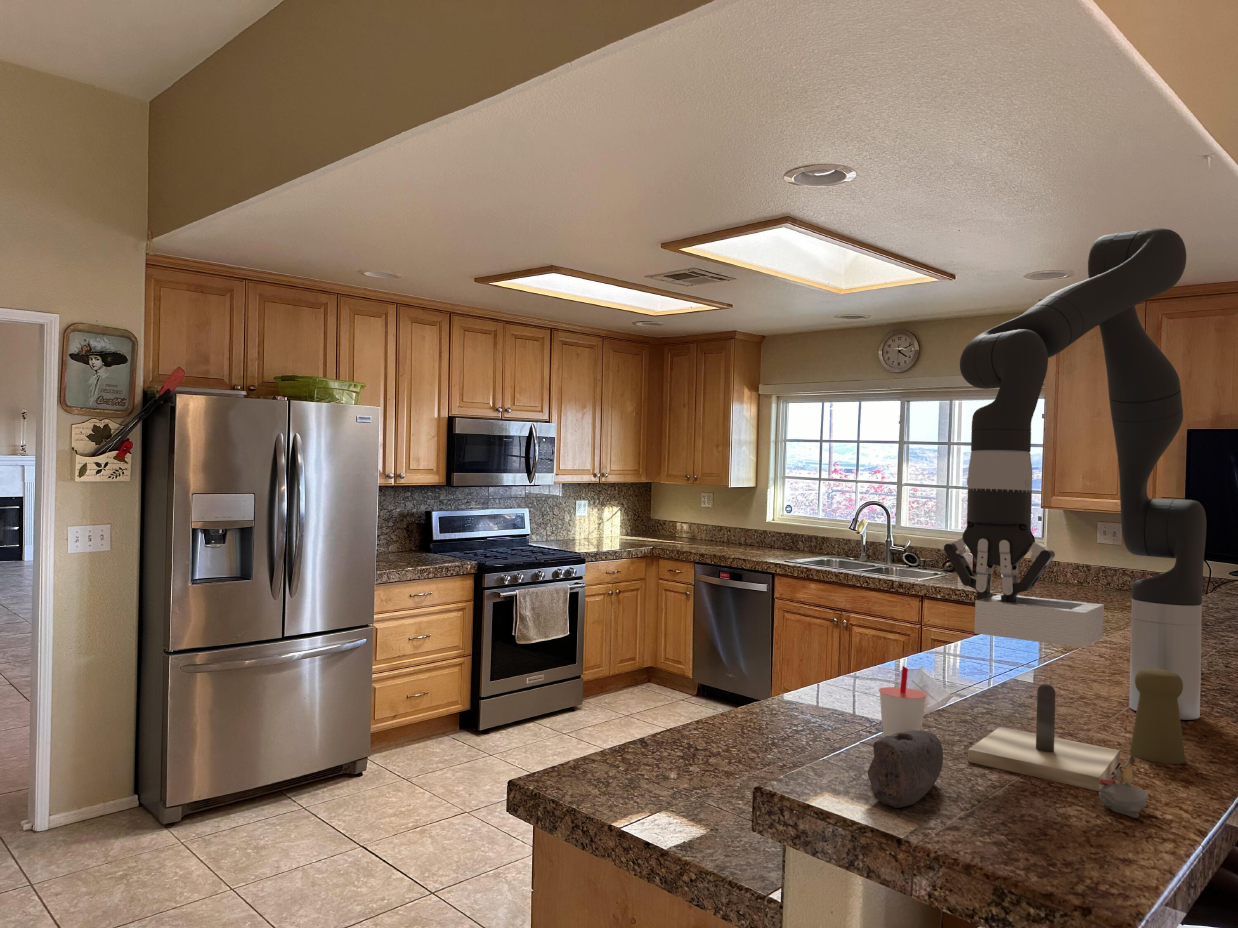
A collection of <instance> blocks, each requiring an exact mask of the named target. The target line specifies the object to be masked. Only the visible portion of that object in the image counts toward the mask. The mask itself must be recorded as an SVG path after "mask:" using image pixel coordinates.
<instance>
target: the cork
mask: <svg viewBox="0 0 1238 928" xmlns="http://www.w3.org/2000/svg"><path fill="white" fill-rule="evenodd" d="M1135 685H1136V688H1137V690H1138V691H1139V693H1140V695H1139V701H1138V707H1137V711H1136V713H1135V719H1134V724H1133V725H1134V726H1133V730H1132V737H1131V743H1130V747H1129V752H1130V755H1133V756H1134V757H1137V758H1140V759H1143V760H1147V761H1151V762H1157V763H1162V764H1173V765H1177V764H1184V763H1186V762H1187V760H1186V754H1185V747H1184V738H1183V731H1182V730H1183V729H1182V724H1181V723H1182V722H1181V719H1180V714H1179V707H1178V699H1177V698H1178V697H1179V696H1180V695H1181V693H1182V690H1183V682H1182V679H1181V678H1180V676H1179V675H1177V674H1176V673H1174V672H1171V671H1168V670H1164V669H1157V668H1147V669H1141V670H1139V671H1138V673H1137V674H1136V677H1135Z"/></svg>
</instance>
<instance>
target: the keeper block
mask: <svg viewBox="0 0 1238 928" xmlns="http://www.w3.org/2000/svg"><path fill="white" fill-rule="evenodd" d="M1036 691H1037V692H1036V729H1035V733H1033V732H1028V731H1023V730H1020V729H1019V730H1018V729H1013V728H1008V727H1004V726H999V727H997V728H996V729H995V730H993V731H992V732H991V733H989V734H988V735H986V736H985V737H983V738H982V739H980V740H979V741H978V742H976V743H975V744H974V745H972V746H971V747H969V748H968V749H967V750H968V753H967V754H968V755H967V762H969V763H972V764H977V765H981V766H986V767H989V768H990V767H991V768H995V769H998V770H1004V771H1007V772H1012V773H1017V774H1021V775H1025V776H1030V777H1034V778H1039V779H1044V780H1048V781H1052V782H1056V783H1061V784H1064V785H1065V784H1066V785H1070V786H1074V787H1078V788H1082V789H1087V790H1092V791H1097V792H1100V789H1099V788H1101V784H1099V781H1100V778H1108V777H1107V776H1106V774H1105V773H1106V772H1107V771H1108V772H1109V774H1111V773H1112V774H1113V773H1114V772H1113V771H1114V770H1115V771H1116V769H1117V767H1118V765H1120V764H1121V763H1120V758H1121V757H1120V755H1121V754H1120V752H1121V750H1119V749H1114V748H1110V747H1105V746H1100V745H1094V744H1090V743H1085V742H1079V741H1073V740H1068V739H1065V738H1064V739H1063V738H1060V737H1059V738H1058V737H1055V727H1056V726H1055V725H1056V722H1055V721H1056V690H1055V688H1054V687H1053V686H1052V685H1051V684H1048V683H1042V684H1040V685H1039V686H1038V688H1037V690H1036ZM1105 770H1107V771H1105ZM1102 771H1103V772H1102ZM1108 772H1107V775H1108V776H1109V774H1108ZM1112 774H1111V775H1112ZM1109 777H1110V776H1109Z"/></svg>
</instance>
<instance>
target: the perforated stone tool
mask: <svg viewBox="0 0 1238 928" xmlns="http://www.w3.org/2000/svg"><path fill="white" fill-rule="evenodd" d="M872 747H873V759H872V760H871V763H870V765H869V767H868V770H867V778H868V780H869V782H870V785H871V789H872V792H873V793H872V795H873V797H874V798H875V799H876V800H878V801H880V802H881V803H882V804H883V805H887V806H889V807H893V808H895V809H898V808H899V809H900V808H905V807H908V806H912V805H915V804H916V803H917V802H918V801H919V800H921V799H923V797H924V796H925V795H927V793H929V791H930V790H931V789H932V788H933V786H934V785H935V783H936V782H937V780H938V778H939V776H940V774H941V772H942V768H943V764H944V763H943V762H944V749H943V745H942V743H941V741H940V739H939V738H938V737H937V736H936V735H935V734H933V733H931V732H928V731H924V730H921V731H919V730H914V731H906V732H900V733H895V734H892V735H890V736H885V737H883V736H882V738H880V739H878V740H876V741H874V742H873V744H872Z"/></svg>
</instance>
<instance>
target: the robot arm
mask: <svg viewBox="0 0 1238 928" xmlns="http://www.w3.org/2000/svg"><path fill="white" fill-rule="evenodd" d="M1186 249H1187V248H1186V245H1185V242H1184V240H1183V238H1182V237H1181V235H1180V234H1179V233H1178V232H1176V231H1175V230H1172V229H1170V228H1169V229H1168V228H1159V227H1157V228H1146V229H1140V230H1132V231H1124V232H1115V233H1110V234H1106V235H1102V236H1100V237H1098V238H1096V240H1095V241H1094V242H1093V244H1092V246H1091V248H1090V250H1089V254H1088V260H1087V274H1088V278H1087V279H1085V280H1082V281H1078V282H1076V283H1073V284H1070V285H1068V286H1065V287H1063V288H1061V289H1059V290H1056V291H1054V292H1053V293H1051V294H1049V295H1047V296H1045V297H1044V298H1043V299H1041V300H1039V301H1038V302H1037V303H1036V304H1034V305H1032V306H1031V307H1030V308H1028V309H1027V310H1026V311H1024V312H1023V313H1022V314H1020V315H1018V316H1017V317H1015V318H1012V319H1010V320H1007V321H1004V322H1002V323H1001V324H999V325H996V326H994V327H992V328H990V329H987V330H985V331H983V332H982V333H979V334H978V335H977V336H975V337H974V338H973V339H971V340H970V341H969V342H968V343H967V344H966V346H965V347H964V349H963V350H962V353H961V355H960V359H959V370H960V373H961V375H962V378H963V379H964V381H966V382H967V383H968V384H969V385H970V386H973V387H975V388H978V389H982V390H990V389H997V388H998V391H997V394H996V396H995V398H994V400H993V401H991V403H989V404H986V405H984V406H981V407H979V408H977V409H976V410H975V411H974V413H973V415H972V419H971V438H970V441H971V445H970V451H971V452H970V457H969V458H970V459H969V462H968V463H969V464H968V470H967V472H968V473H967V474H968V475H967V478H966V485H967V504H966V505H967V507H966V527H965V529H964V531H963V532H962V538H959V539H958V540H955V541H953V542H949V543H945V544H944V546H943V551H944V552H945V555H947V558H948V559H949V562H950V563H951V565H952V567H953V568H954V571H955V572H956V574H957V576H958V579H960V581H961V584H962V585H963V586H965V587H969V588H972V589H974V590H975V592H976V594H977V595H976V596H977V597H976V600H980V599H984V598H989V597H992V596H993V592H992V591H991V588H992V579H993V574H994V569H995V566H998V567H1000V576H1001V585H1002V586H1001V587H1002V588H1001V590H1002V594H1003V595H1001V599H1002V602H1007V603H1016V597H1017V596H1018V595H1019V593H1022V592H1027V591H1030V590H1032V589H1033V588H1034V587H1035V585H1036V583H1037V582H1038V580H1039V579H1040V577H1042V575H1043V574H1044V572H1045V570H1047V568H1048V566H1049V565H1050V564H1051V562H1052V561H1053V559H1054V558H1055V557H1056V553H1055V552H1054V551H1053V550H1052V549H1047V548H1045V547H1043V545H1040V544H1038V543H1037V542H1036V538H1035V536H1034V534H1033V532H1032V529H1031V528H1032V499H1033V495H1032V494H1033V491H1032V490H1033V466H1032V457H1031V456H1032V455H1031V449H1032V448H1031V447H1032V421H1033V418H1034V414H1035V410H1036V409H1037V407H1038V406H1037V405H1038V402H1039V398H1040V395H1041V391H1042V390H1043V385H1044V383H1045V379H1046V375H1047V372H1048V367H1049V366H1048V365H1049V359H1050V358H1052V357H1054V356H1056V355H1058V354H1059V353H1061V352H1062V351H1064V350H1065V349H1066V348H1068V347H1069V346H1071V345H1072V344H1073V343H1075V342H1076V341H1077V340H1078V339H1080V338H1081V337H1083V336H1084V335H1085V334H1087V333H1089V332H1090V331H1091V330H1093V329H1094V328H1096V327H1097V326H1099V331H1100V337H1101V340H1102V341H1101V342H1102V347H1103V352H1104V360H1105V368H1106V376H1107V389H1108V400H1109V408H1110V409H1109V410H1110V416H1111V422H1112V427H1113V435H1114V441H1115V448H1116V449H1115V450H1116V455H1117V462H1118V475H1119V476H1118V477H1119V478H1118V479H1119V499H1120V500H1119V501H1120V521H1121V522H1120V523H1121V534H1122V539H1123V543H1124V546H1125V548H1126V551H1128V552H1129V553H1131V554H1132V555H1135V556H1136V555H1137V556H1141V557H1151V558H1163V559H1164V558H1166V559H1175V563H1174V565H1173V567H1172V568H1171V569H1170V570H1168V571H1166V572H1164V573H1161V574H1158V575H1154V576H1151V577H1150V576H1149V577H1147V578H1146V577H1145V578H1142V579H1137V580H1135V581H1133V583H1132V585H1131V610H1130V611H1131V616H1130V617H1131V622H1130V631H1131V632H1130V665H1129V666H1130V668H1129V698H1128V699H1129V703H1128V704H1129V705H1128V706H1129V709H1131V710H1133V711H1135V712H1137V707H1138V701H1139V695H1140V693H1139V691H1138V690H1137V688H1136V685H1135V677H1136V674H1137V673H1138V671H1139V670H1141V669H1147V668H1157V669H1164V670H1168V671H1171V672H1174V673H1176V674H1177V675H1179V676H1180V678H1181V679H1182V682H1183V690H1182V693H1181V695H1180V696H1179V697H1178V698H1177V699H1178V707H1179V714H1180V720H1189V721H1192V720H1198V719H1199V718H1200V716H1201V715H1200V714H1201V713H1200V712H1201V676H1202V675H1201V671H1202V670H1201V669H1202V668H1201V667H1202V617H1203V616H1202V614H1203V611H1202V609H1203V608H1202V607H1203V584H1204V582H1203V580H1204V563H1205V562H1204V561H1205V552H1206V538H1207V516H1206V511H1205V508H1204V506H1203V505H1202V503H1200V502H1199V501H1197V500H1192V499H1182V498H1181V499H1180V498H1179V499H1177V498H1175V499H1173V498H1150V497H1149V496H1148V490H1147V489H1148V481H1149V479H1150V476H1151V474H1152V472H1153V470H1154V468H1155V467H1156V464H1157V463H1158V461H1159V460H1160V458H1161V457H1162V456H1163V454H1164V452H1165V451H1166V450H1167V448H1169V446H1170V444H1171V443H1172V441H1173V440H1174V438H1175V437H1176V435H1177V434H1178V433H1179V430H1180V428H1181V426H1182V424H1183V421H1184V411H1183V409H1184V407H1183V399H1182V389H1181V387H1182V386H1181V381H1180V377H1179V374H1178V372H1177V370H1176V368H1175V367H1174V366H1173V364H1172V362H1171V361H1170V360H1169V359H1168V358H1167V357H1166V355H1165V354H1164V353H1163V351H1162V350H1161V349H1160V347H1158V345H1157V344H1156V343H1155V342H1154V341H1153V339H1152V338H1150V336H1149V335H1148V333H1147V332H1146V331H1145V329H1144V327H1143V326H1142V323H1141V322H1140V320H1139V316H1138V313H1137V309H1136V306H1137V305H1138V304H1141V303H1143V302H1145V301H1147V300H1150V299H1152V298H1155V297H1157V296H1159V295H1161V294H1163V293H1166V292H1167V291H1169V290H1171V289H1172V288H1173V287H1175V286H1176V285H1177V284H1178V282H1179V281H1180V280H1181V279H1182V276H1183V274H1184V272H1185V269H1186V266H1187V265H1186V264H1187V250H1186ZM966 547H967V548H968V550H969V551H970V553H971V555H972V556H973V558H974V559H975V560H976V568H975V571H976V572H975V573H976V576H975V574H974V571H973V570H972V568H971V566H970V564H969V563H968V561H967V559H966V557H965V555H966V554H967V549H966ZM1029 551H1031V554H1030V561H1031V562H1032V563H1031V565H1030V566H1029V568H1028V569H1027V571H1026V573H1025V574H1024V575H1023V577H1022V578H1021V579H1020V581H1019V582H1018V574H1019V566H1018V565H1019V563H1020V562H1021V561H1022V560H1023V558H1024V557H1025V556H1026V555H1027V554H1028V553H1029Z"/></svg>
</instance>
